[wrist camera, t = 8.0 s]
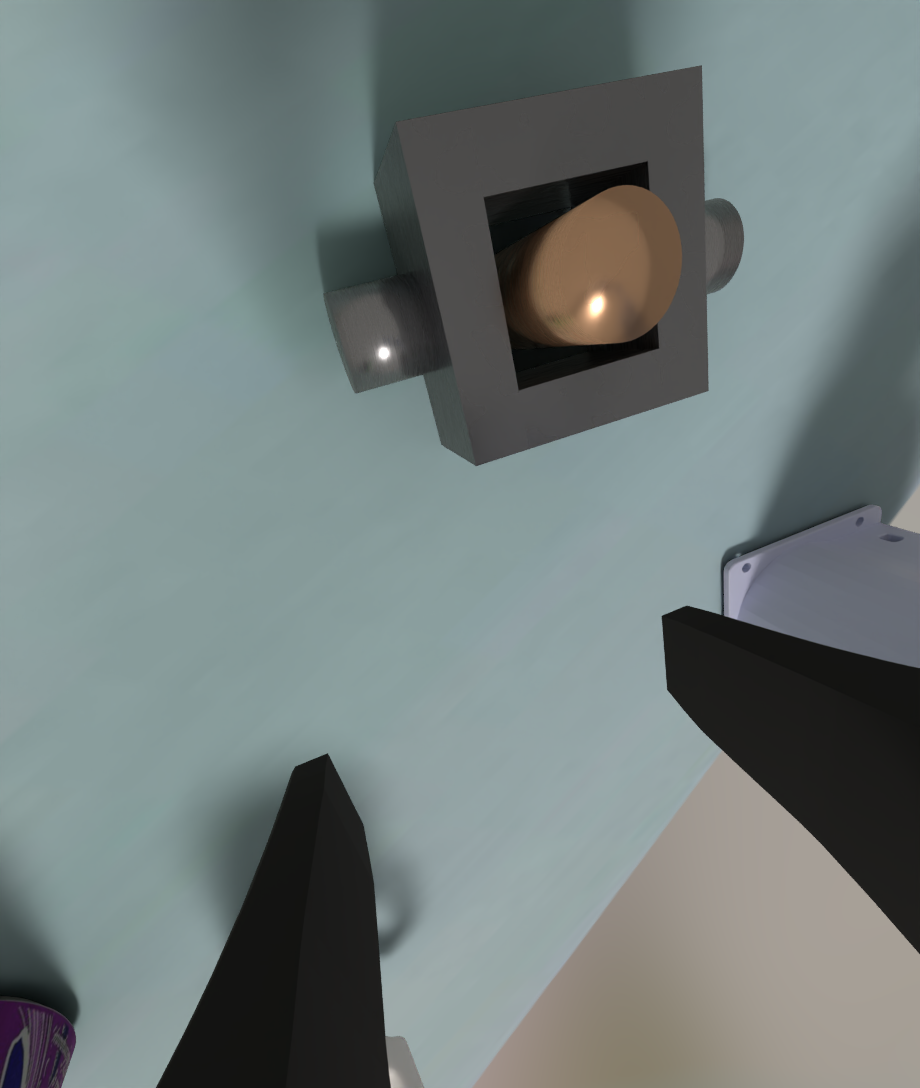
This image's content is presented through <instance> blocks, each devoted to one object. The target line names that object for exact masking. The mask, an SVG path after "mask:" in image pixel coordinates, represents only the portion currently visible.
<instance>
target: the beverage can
mask: <svg viewBox="0 0 920 1088" xmlns="http://www.w3.org/2000/svg"><path fill="white" fill-rule="evenodd" d="M75 1044H76V1035H75V1031H74V1028H73V1026H72V1024H71V1023H70V1021H69V1020H68V1019H67V1018H66V1017H65V1016H63V1015H62V1014H61V1013H59V1012H57V1011H56V1010H54V1009H52V1008H49V1007H47V1006H44V1005H41V1004H39V1003H37V1002H34V1001H31V1000H28V999H24V998H19V997H8V996H0V1088H61V1086H62V1083H63V1080H64V1078H65V1075H66V1072H67V1069H68V1066H69V1063H70V1060H71V1057H72V1054H73V1051H74V1048H75Z"/></svg>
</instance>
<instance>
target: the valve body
mask: <svg viewBox="0 0 920 1088" xmlns="http://www.w3.org/2000/svg"><path fill="white" fill-rule="evenodd" d="M622 185H633V186H638V187H642V188H644V189H646V190H649V191H651V192H652V193H653V194H655V195H656V196H658V197H659V198H660V199H661V200H662V201H663V202H664V204H665V205H666V206H667V207H668V209H669V210H670V212H671V214H672V216H673V217H674V220H675V222H676V225H677V227H678V231H679V234H680V240H681V246H682V267H681V275H680V279H679V284H678V287H677V290H676V293H675V296H674V298H673V300H672V303H671V304H670V306H669V308H668V310H667V311H666V313H665V314H664V316H663V317H662V318H661V319H660V321H659V322H658V323H657V324H656V325H655V326H654V327H653V328H652V329H651V330H649V331H648V332H647V333H645V334H644V335H642V336H640V337H638V338H636V339H634V340H631V341H627V342H622V343H609V344H594V345H588V352H585V353H581V354H578V355H574V356H571V357H568V358H564V359H561V360H557V361H554V362H550V363H547V364H544V365H540V366H537V367H533V368H530V369H526V370H523V371H520V372H516V373H515V368H514V362H513V357H512V351H511V346H510V340H509V335H508V329H507V324H506V318H505V313H504V307H503V302H502V296H501V291H500V285H499V280H498V274H497V269H496V263H495V258H494V252H493V247H492V241H491V236H490V230H489V226H490V225H495V224H499V223H503V222H507V221H512V220H516V219H520V218H525V217H529V216H533V215H538V214H542V213H546V212H551V211H555V210H559V209H564V208H568V207H571V209H574V208H575V207H577V206H579V205H580V204H582V203H584V202H586V201H587V200H589V199H591V198H592V197H594V196H596V195H598V194H599V193H601V192H603V191H605V190H607V189H609V188H612V187H616V186H622ZM374 186H375V190H376V194H377V198H378V201H379V205H380V209H381V213H382V217H383V221H384V225H385V228H386V232H387V236H388V240H389V244H390V248H391V252H392V255H393V259H394V263H395V267H396V271H397V276H392V277H388V278H384V279H380V280H376V281H372V282H368V283H364V284H359V285H355V286H351V287H347V288H343V289H339V290H335V291H331V292H326V293H323V296H324V302H325V306H326V310H327V314H328V317H329V321H330V324H331V328H332V331H333V334H334V337H335V341H336V344H337V347H338V350H339V353H340V356H341V359H342V362H343V365H344V368H345V370H346V373H347V376H348V379H349V381H350V384H351V386H352V388H353V390H354V392H355V394H356V393H360V392H363V391H367V390H370V389H374V388H377V387H381V386H385V385H388V384H392V383H395V382H399V381H402V380H406V379H409V378H413V377H416V376H420V375H424V379H425V383H426V387H427V390H428V394H429V398H430V402H431V406H432V410H433V414H434V417H435V421H436V425H437V429H438V433H439V437H440V441H441V444H442V445H443V446H444V447H446V448H448V449H449V450H451V451H452V452H454V453H456V454H457V455H459V456H461V457H462V458H464V459H465V460H467V461H469V462H470V463H472V464H474V465H475V466H478V465H481V464H484V463H487V462H490V461H493V460H496V459H499V458H503V457H506V456H509V455H512V454H515V453H518V452H521V451H524V450H527V449H530V448H533V447H537V446H540V445H543V444H546V443H549V442H552V441H555V440H558V439H561V438H564V437H567V436H571V435H574V434H577V433H580V432H583V431H586V430H589V429H592V428H595V427H598V426H601V425H605V424H608V423H611V422H614V421H617V420H620V419H623V418H626V417H629V416H632V415H635V414H639V413H642V412H645V411H648V410H651V409H654V408H657V407H660V406H663V405H666V404H669V403H673V402H676V401H679V400H682V399H685V398H688V397H691V396H694V395H697V394H700V393H703V392H706V391H708V343H707V294H710V293H714V292H716V291H719V290H720V289H722V288H723V287H724V286H725V285H727V283H728V282H729V281H730V280H731V279H732V277H733V276H734V274H735V272H736V270H737V268H738V266H739V263H740V260H741V256H742V252H743V245H744V231H743V225H742V221H741V218H740V215H739V213H738V211H737V210H736V208H735V207H734V206H733V205H732V204H731V203H730V202H728V201H727V200H724V199H720V198H715V199H710V200H706V201H705V197H704V148H703V99H702V65H701V66H696V67H690V68H685V69H680V70H674V71H669V72H663V73H658V74H652V75H647V76H642V77H636V78H631V79H625V80H620V81H615V82H609V83H604V84H598V85H593V86H587V87H582V88H577V89H571V90H566V91H560V92H555V93H549V94H544V95H539V96H533V97H528V98H522V99H517V100H511V101H506V102H501V103H495V104H490V105H484V106H479V107H474V108H468V109H463V110H457V111H452V112H446V113H441V114H436V115H430V116H425V117H419V118H414V119H408V120H403V121H398V122H396V123H395V126H394V129H393V131H392V134H391V137H390V140H389V142H388V145H387V148H386V151H385V153H384V156H383V159H382V162H381V165H380V167H379V170H378V173H377V176H376V178H375V181H374Z"/></svg>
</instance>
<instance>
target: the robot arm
mask: <svg viewBox="0 0 920 1088" xmlns="http://www.w3.org/2000/svg"><path fill="white" fill-rule="evenodd" d="M881 515H882V509H881V507H879V506H876V505H872V504H871V505H867V506H865V507H862V508H860V509H857V510H855V511H852V512H850V513H847V514H845V515H842V516H840V517H837V518H835V519H832V520H830V521H827V522H825V523H822V524H820V525H817V526H815V527H812V528H810V529H807V530H805V531H802V532H800V533H797V534H795V535H792V536H790V537H787V538H785V539H782V540H780V541H777V542H775V543H772V544H770V545H767V546H765V547H762V548H760V549H757V550H755V551H752V552H750V553H747V554H745V555H742V556H740V557H737V558H735V559H732V560H731V561H729V562H728V563H727V564H726V565H725V567H724V616H723V615H719V614H716V613H712V612H709V611H705V610H702V609H698V608H694V607H690V606H685V607H682V608H680V609H677V610H675V611H673V612H670V613H668V614H665V615H663V616H662V625H663V639H664V652H665V666H666V679H667V690H668V691H669V692H670V694H671V695H672V696H673V697H674V699H675V700H676V701H677V702H678V703H679V705H680V706H681V707H682V708H683V710H684V711H685V712H686V713H687V714H688V715H689V717H690V718H691V719H692V720H693V721H694V722H695V723H696V725H697V726H698V727H699V728H700V729H701V730H702V731H703V732H704V733H705V734H706V735H707V736H708V737H709V738H710V739H711V740H712V741H713V742H714V743H715V744H716V745H717V746H718V747H719V748H721V749H722V750H723V751H724V752H725V753H726V754H727V755H728V756H729V757H730V758H731V759H732V760H733V761H734V762H735V763H737V764H738V765H739V766H740V767H741V768H742V769H743V770H744V771H745V772H746V773H747V774H748V775H749V776H751V777H752V778H753V779H754V780H755V781H756V782H757V783H758V784H759V785H760V786H761V787H762V788H763V789H764V790H766V791H767V792H768V793H769V794H770V795H771V796H772V797H773V798H774V799H776V801H777V802H778V803H779V804H781V805H782V806H783V807H784V808H785V809H786V810H787V811H788V812H789V813H790V814H791V815H792V816H793V817H795V818H796V819H797V820H798V821H799V822H800V823H801V824H802V825H803V826H804V827H805V828H806V829H807V830H808V831H809V832H810V833H811V834H812V835H813V836H814V837H815V838H816V839H817V840H818V841H819V842H820V843H821V844H822V845H823V846H824V847H825V848H826V850H827V851H828V852H829V853H830V854H831V855H832V856H833V857H834V858H835V859H836V860H837V862H838V863H839V864H840V865H841V866H842V867H843V868H844V869H845V870H846V871H847V873H848V874H849V875H850V876H851V877H852V878H853V879H854V880H855V881H856V882H857V883H858V884H859V886H860V887H861V888H862V889H863V890H864V891H865V892H866V893H867V894H868V895H869V897H870V898H871V899H872V900H873V901H874V902H875V903H876V904H877V906H878V907H879V908H880V909H881V910H882V911H883V913H884V914H885V915H886V916H887V917H888V918H889V919H890V921H891V922H892V923H893V924H894V925H895V926H896V927H897V929H898V930H899V931H900V932H901V933H902V934H903V935H904V936H905V938H906V939H907V940H908V941H909V942H910V943H911V945H913V947H914V948H915V949H916V950H917V951H918V952H919V954H920V534H918V533H915V532H911V531H907V530H904V529H900V528H897V527H893V526H890V525H886V524H883V523H880V522H881ZM156 1088H391V1084H390V1076H389V1067H388V1058H387V1048H386V1039H385V1025H384V1011H383V998H382V984H381V971H380V957H379V943H378V930H377V917H376V904H375V892H374V881H373V876H372V870H371V864H370V858H369V853H368V847H367V842H366V837H365V831H364V826H363V823H362V821H361V819H360V817H359V815H358V813H357V811H356V809H355V807H354V805H353V803H352V801H351V799H350V797H349V795H348V793H347V791H346V789H345V787H344V785H343V783H342V781H341V779H340V777H339V775H338V773H337V771H336V769H335V767H334V765H333V763H332V761H331V759H330V757H329V755H328V753H327V754H325V755H323V756H320V757H318V758H315V759H313V760H310V761H308V762H306V763H303V764H301V765H298V766H296V767H295V768H294V770H293V772H292V774H291V777H290V780H289V783H288V786H287V789H286V792H285V794H284V797H283V800H282V803H281V806H280V809H279V812H278V814H277V817H276V820H275V823H274V826H273V828H272V831H271V834H270V836H269V839H268V842H267V845H266V847H265V850H264V852H263V855H262V858H261V860H260V863H259V865H258V868H257V870H256V873H255V875H254V878H253V880H252V883H251V885H250V888H249V891H248V893H247V896H246V898H245V900H244V903H243V905H242V908H241V910H240V912H239V915H238V917H237V919H236V921H235V924H234V926H233V928H232V931H231V933H230V935H229V937H228V940H227V942H226V944H225V946H224V949H223V951H222V953H221V956H220V958H219V960H218V962H217V965H216V967H215V969H214V971H213V974H212V976H211V978H210V980H209V982H208V984H207V986H206V989H205V991H204V993H203V995H202V997H201V999H200V1001H199V1003H198V1005H197V1008H196V1010H195V1012H194V1014H193V1016H192V1018H191V1020H190V1022H189V1024H188V1026H187V1028H186V1030H185V1032H184V1034H183V1036H182V1038H181V1040H180V1042H179V1044H178V1046H177V1048H176V1050H175V1052H174V1054H173V1056H172V1058H171V1060H170V1062H169V1064H168V1066H167V1068H166V1069H165V1071H164V1073H163V1075H162V1077H161V1079H160V1081H159V1083H158V1085H157V1087H156Z"/></svg>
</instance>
